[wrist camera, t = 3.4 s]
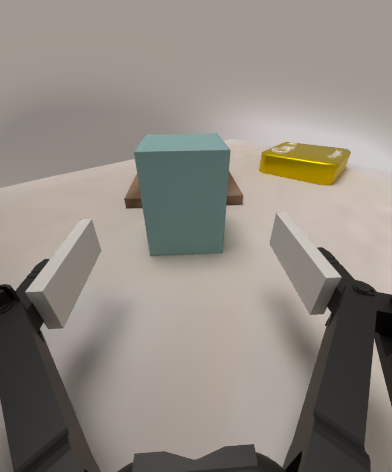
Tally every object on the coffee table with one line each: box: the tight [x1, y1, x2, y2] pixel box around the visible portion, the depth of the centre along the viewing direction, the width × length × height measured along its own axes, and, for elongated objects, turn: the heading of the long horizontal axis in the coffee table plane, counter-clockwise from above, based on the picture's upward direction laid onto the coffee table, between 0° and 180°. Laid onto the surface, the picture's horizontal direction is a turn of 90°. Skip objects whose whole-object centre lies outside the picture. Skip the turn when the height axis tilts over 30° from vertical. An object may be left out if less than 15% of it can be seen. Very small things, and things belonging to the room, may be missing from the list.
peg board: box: [124, 172, 243, 208], centre depth 39 cm, size 18×16×6 cm
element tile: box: [259, 142, 351, 185], centre depth 48 cm, size 15×15×5 cm
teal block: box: [134, 134, 230, 256], centre depth 25 cm, size 8×8×11 cm
